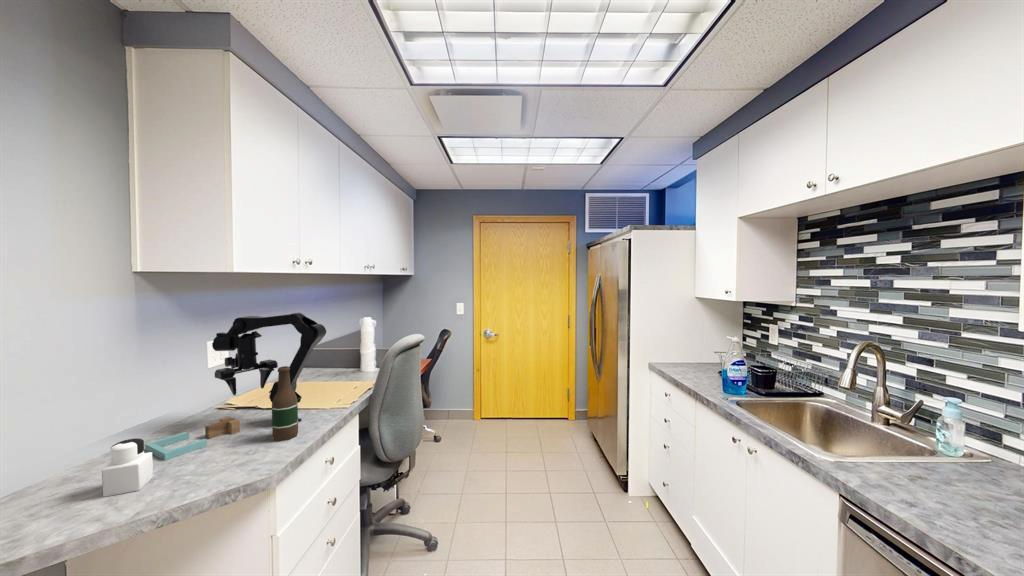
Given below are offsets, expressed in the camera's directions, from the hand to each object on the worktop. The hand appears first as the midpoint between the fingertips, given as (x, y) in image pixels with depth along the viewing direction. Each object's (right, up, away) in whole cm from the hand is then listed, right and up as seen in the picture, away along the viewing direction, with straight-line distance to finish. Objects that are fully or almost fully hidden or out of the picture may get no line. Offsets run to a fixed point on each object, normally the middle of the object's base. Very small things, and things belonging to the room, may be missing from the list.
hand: (248, 391), depth 138 cm
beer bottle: (+21, -12, -12) cm, 27 cm away
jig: (-9, -13, -19) cm, 25 cm away
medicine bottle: (-2, -14, -41) cm, 44 cm away
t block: (-4, -12, -9) cm, 15 cm away
